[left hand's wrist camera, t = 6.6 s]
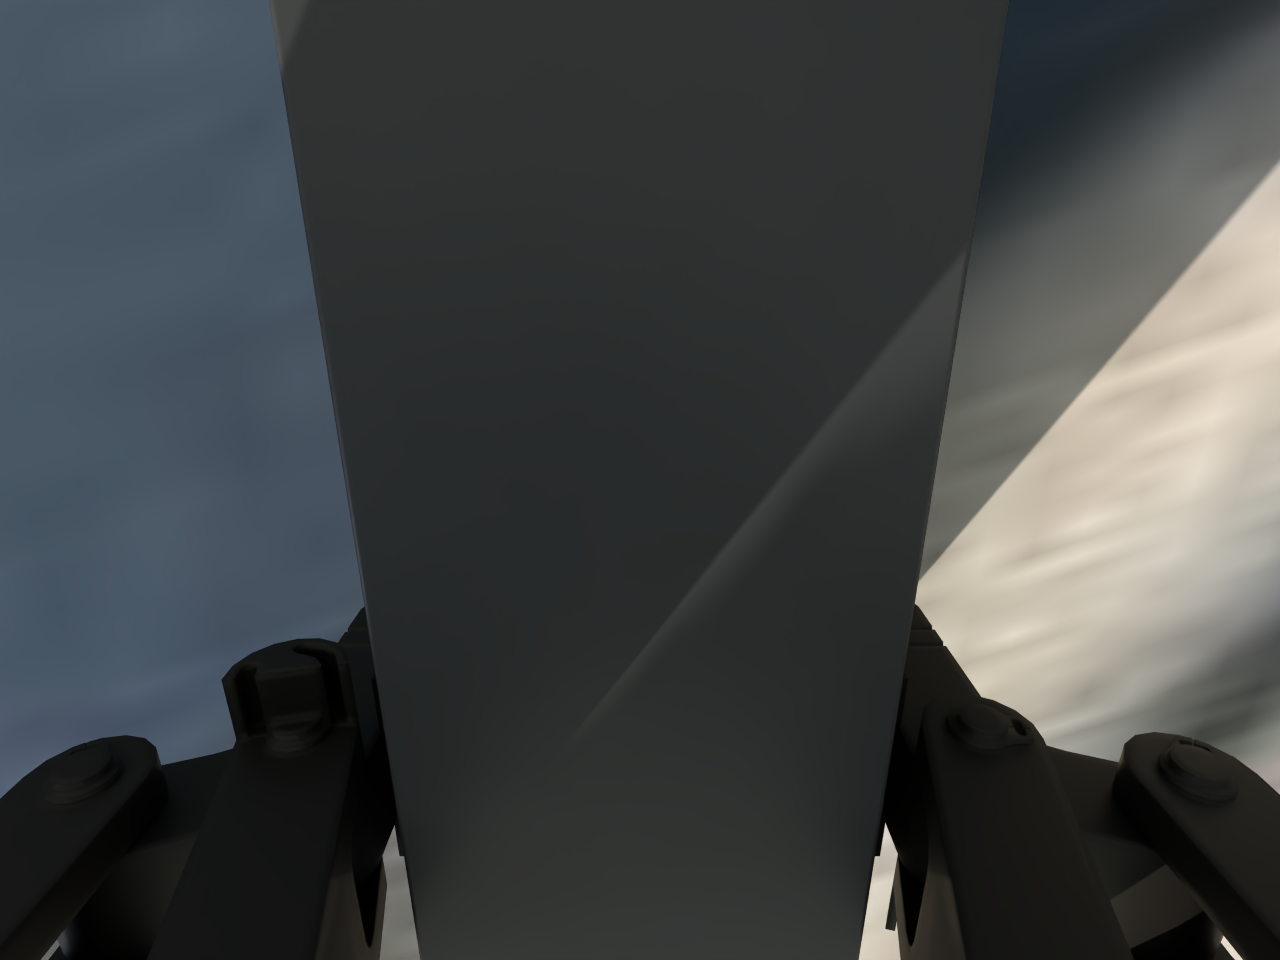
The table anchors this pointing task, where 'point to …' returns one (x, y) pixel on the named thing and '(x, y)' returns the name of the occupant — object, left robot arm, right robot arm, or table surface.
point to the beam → (639, 438)
